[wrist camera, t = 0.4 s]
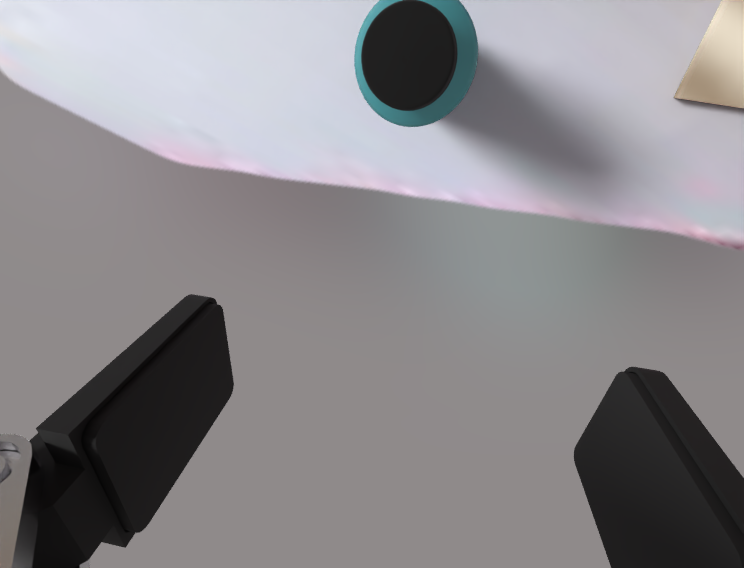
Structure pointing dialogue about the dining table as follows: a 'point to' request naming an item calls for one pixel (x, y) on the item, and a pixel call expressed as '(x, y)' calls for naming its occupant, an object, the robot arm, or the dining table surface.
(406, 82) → the beverage bottle
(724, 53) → the birch board
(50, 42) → the dining table surface
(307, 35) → the dining table surface
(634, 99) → the dining table surface
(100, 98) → the dining table surface
